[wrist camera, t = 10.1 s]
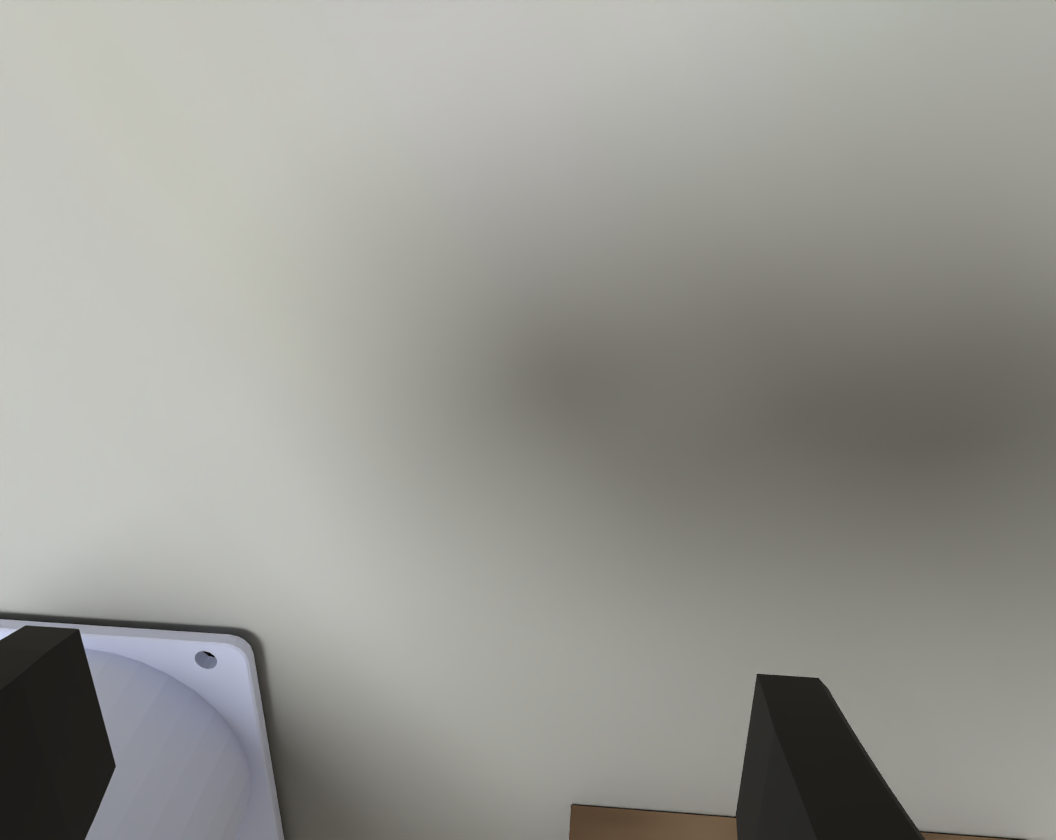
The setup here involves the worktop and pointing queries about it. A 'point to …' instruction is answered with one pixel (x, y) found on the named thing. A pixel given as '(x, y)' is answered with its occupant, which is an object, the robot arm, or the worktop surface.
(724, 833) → the gear board
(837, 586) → the worktop surface
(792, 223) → the worktop surface
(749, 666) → the worktop surface
